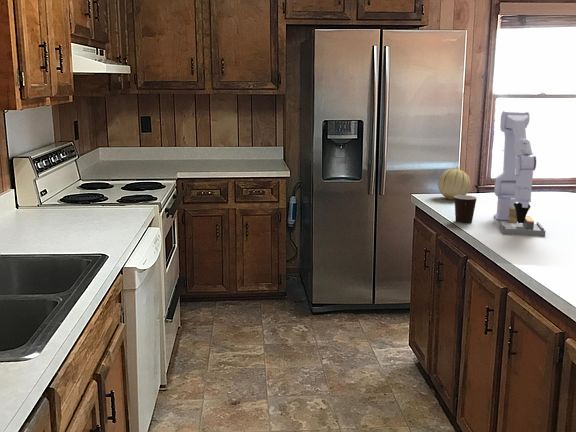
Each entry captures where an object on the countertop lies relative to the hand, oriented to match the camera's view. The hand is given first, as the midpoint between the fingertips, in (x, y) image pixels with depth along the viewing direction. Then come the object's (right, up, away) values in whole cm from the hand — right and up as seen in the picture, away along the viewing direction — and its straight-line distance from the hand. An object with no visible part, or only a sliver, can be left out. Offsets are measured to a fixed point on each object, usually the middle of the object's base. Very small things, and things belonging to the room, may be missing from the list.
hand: (520, 222), depth 241 cm
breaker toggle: (+3, -1, 0) cm, 3 cm away
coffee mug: (-18, 0, +15) cm, 23 cm away
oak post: (+1, -1, +11) cm, 11 cm away
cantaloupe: (-9, +10, +62) cm, 64 cm away
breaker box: (+1, -3, +1) cm, 3 cm away
